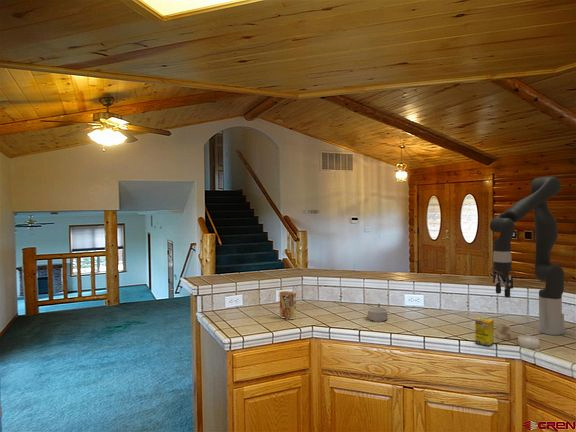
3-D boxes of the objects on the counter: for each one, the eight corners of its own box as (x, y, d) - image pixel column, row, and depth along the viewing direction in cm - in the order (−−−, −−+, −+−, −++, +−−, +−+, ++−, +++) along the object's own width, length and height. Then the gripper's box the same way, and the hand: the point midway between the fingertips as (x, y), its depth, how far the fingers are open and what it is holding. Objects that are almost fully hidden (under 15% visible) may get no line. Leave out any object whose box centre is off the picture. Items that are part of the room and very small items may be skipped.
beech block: (505, 336, 183) (505, 323, 183) (510, 339, 179) (510, 326, 179) (496, 336, 183) (495, 323, 183) (500, 339, 179) (500, 326, 179)
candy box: (296, 318, 220) (296, 291, 220) (294, 320, 217) (293, 293, 216) (282, 316, 224) (282, 290, 224) (279, 318, 220) (279, 292, 220)
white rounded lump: (532, 342, 174) (532, 335, 174) (543, 349, 166) (543, 341, 166) (514, 342, 175) (514, 335, 175) (524, 349, 167) (524, 341, 167)
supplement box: (475, 344, 174) (474, 319, 174) (480, 340, 178) (479, 317, 178) (489, 347, 170) (489, 322, 169) (494, 343, 174) (493, 319, 174)
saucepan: (389, 313, 227) (389, 304, 227) (387, 323, 208) (387, 313, 208) (369, 312, 230) (369, 303, 230) (366, 321, 211) (365, 311, 211)
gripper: (518, 262, 173) (519, 298, 173) (503, 258, 187) (503, 291, 188) (501, 262, 174) (501, 298, 174) (487, 258, 188) (487, 292, 188)
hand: (502, 295), depth 181 cm, fingers open, 8 cm apart
